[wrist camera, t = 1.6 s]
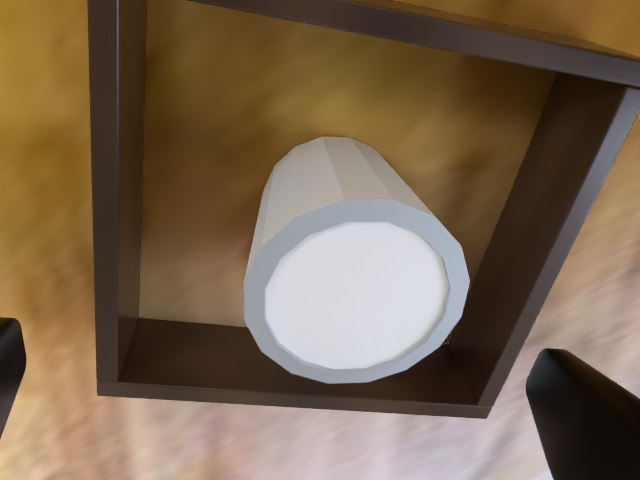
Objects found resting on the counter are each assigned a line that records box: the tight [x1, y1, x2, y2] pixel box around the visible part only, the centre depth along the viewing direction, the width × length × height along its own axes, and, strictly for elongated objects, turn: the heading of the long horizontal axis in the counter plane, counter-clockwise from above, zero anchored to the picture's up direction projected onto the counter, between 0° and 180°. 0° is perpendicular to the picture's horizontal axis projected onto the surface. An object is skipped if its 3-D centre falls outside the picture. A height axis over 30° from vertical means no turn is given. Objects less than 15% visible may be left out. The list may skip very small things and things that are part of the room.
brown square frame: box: [88, 0, 640, 419], centre depth 20 cm, size 17×16×4 cm
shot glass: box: [243, 137, 470, 384], centre depth 18 cm, size 7×7×7 cm
